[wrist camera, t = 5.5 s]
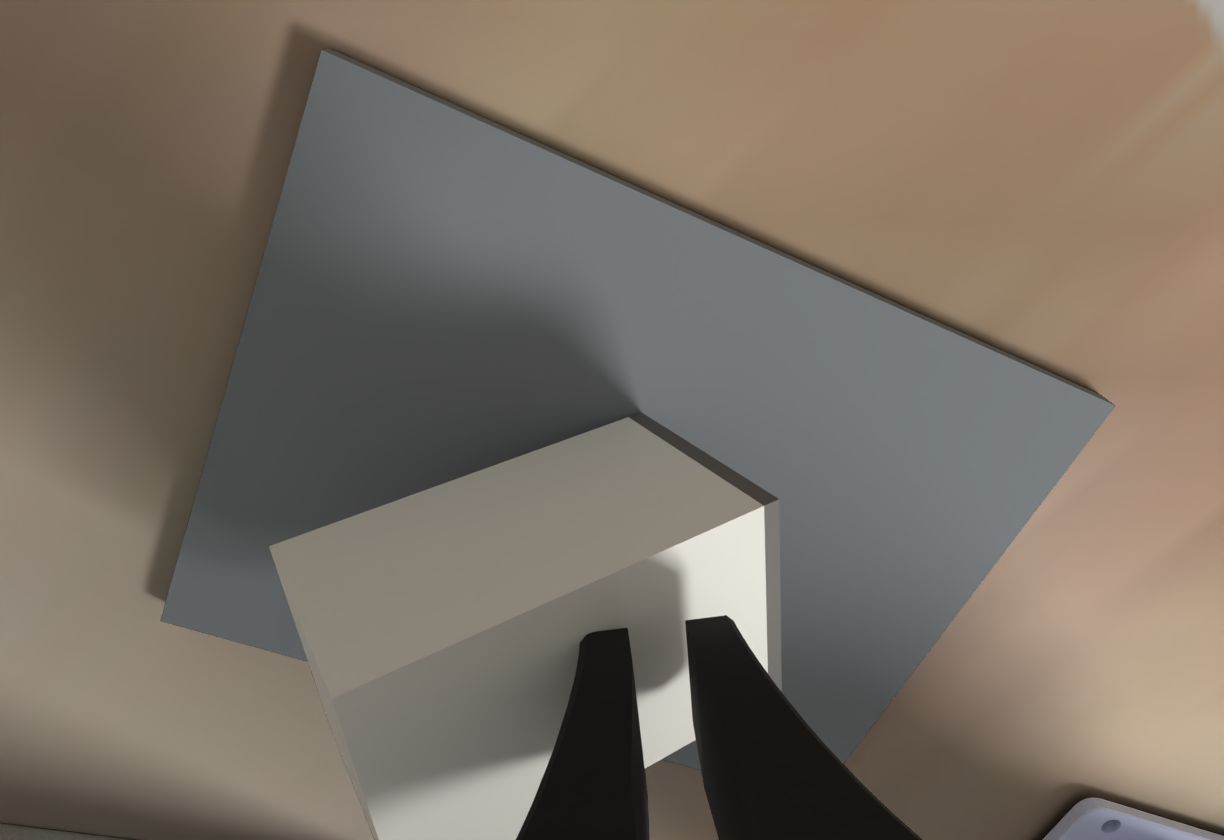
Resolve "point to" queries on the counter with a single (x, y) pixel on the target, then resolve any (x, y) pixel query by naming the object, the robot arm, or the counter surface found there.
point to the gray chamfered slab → (44, 834)
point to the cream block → (522, 616)
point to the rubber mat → (604, 385)
